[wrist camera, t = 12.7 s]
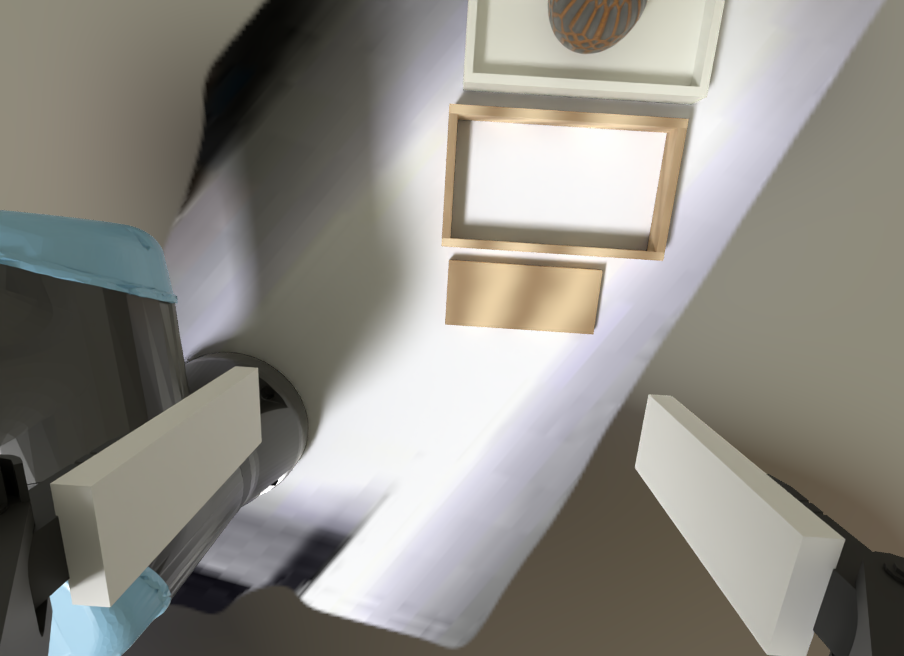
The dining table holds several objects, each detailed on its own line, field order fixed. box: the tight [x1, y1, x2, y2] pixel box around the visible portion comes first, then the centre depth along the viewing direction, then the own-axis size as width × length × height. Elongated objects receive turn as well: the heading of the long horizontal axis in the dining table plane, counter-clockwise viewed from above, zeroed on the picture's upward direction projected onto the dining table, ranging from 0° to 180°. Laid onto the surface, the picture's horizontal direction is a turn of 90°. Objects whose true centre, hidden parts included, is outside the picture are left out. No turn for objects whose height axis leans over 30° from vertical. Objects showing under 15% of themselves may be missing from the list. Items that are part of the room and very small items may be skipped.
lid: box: [445, 260, 603, 334], centre depth 40 cm, size 14×6×1 cm, turn 86°
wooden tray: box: [442, 104, 689, 261], centre depth 37 cm, size 19×11×2 cm, turn 86°
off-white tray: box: [463, 0, 725, 105], centre depth 34 cm, size 19×11×2 cm, turn 86°
